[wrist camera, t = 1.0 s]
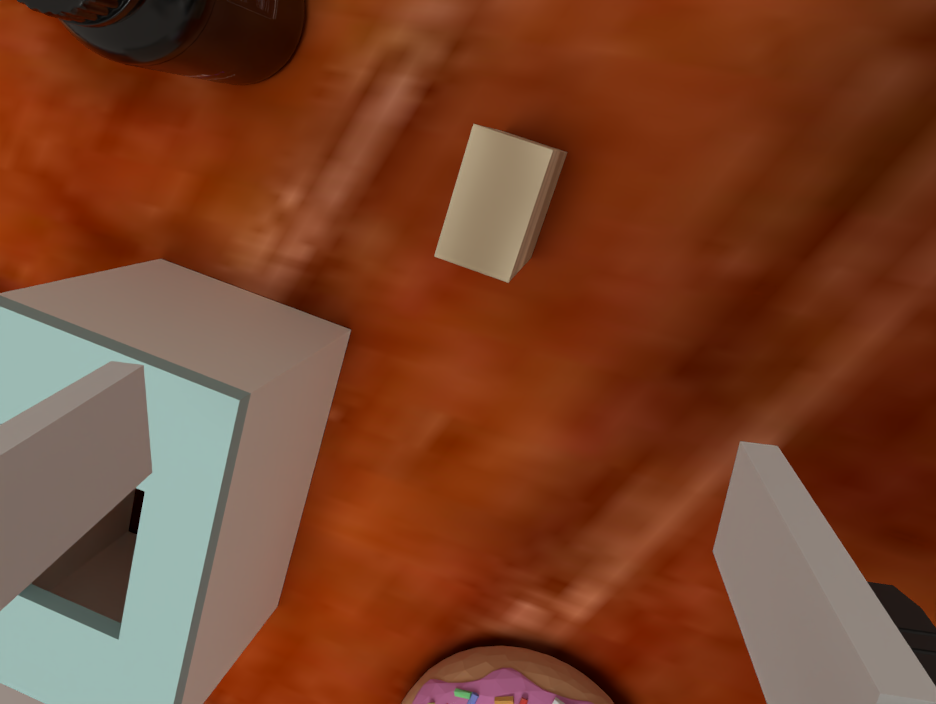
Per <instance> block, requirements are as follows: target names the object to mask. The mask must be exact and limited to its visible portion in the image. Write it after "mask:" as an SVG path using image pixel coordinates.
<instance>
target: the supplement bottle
mask: <svg viewBox="0 0 936 704" xmlns="http://www.w3.org/2000/svg"><path fill="white" fill-rule="evenodd" d="M17 1H18V2H20V3H22V4H25V5H27V6H28V7H29V8H30V9H32V10H33V11H36V12H40V13H44V14H45V15H48V16H51V17H55V18H58V19H59V20H60V22H61V23H62V24H63V25H64V27H65V28H66V29H67V30H68V31H69V32H70V33H71V34H72V35H73V36H74V37H75V38H76V39H77V40H78V41H79V42H80V43H82V44H83V45H84V46H85V47H87V48H88V49H90V50H91V51H93V52H95V53H96V54H98V55H100V56H102V57H104V58H107V59H109V60H112V61H115V62H119V63H123V64H126V65H131V66H136V67H141V68H146V69H151V70H157V71H162V72H167V73H172V74H177V75H183V76H188V77H193V78H198V79H203V80H208V81H214V82H219V83H226V84H233V85H246V84H253V83H256V82H260V81H262V80H264V79H267V78H268V77H270V76H272V75H273V74H275V73H276V72H277V71H279V70H280V69H281V68H282V67H283V66H284V65H285V64H286V63H287V61H288V60H289V59H290V57H291V56H292V54H293V53H294V51H295V49H296V47H297V45H298V42H299V39H300V37H301V33H302V29H303V23H304V0H17Z"/></svg>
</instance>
